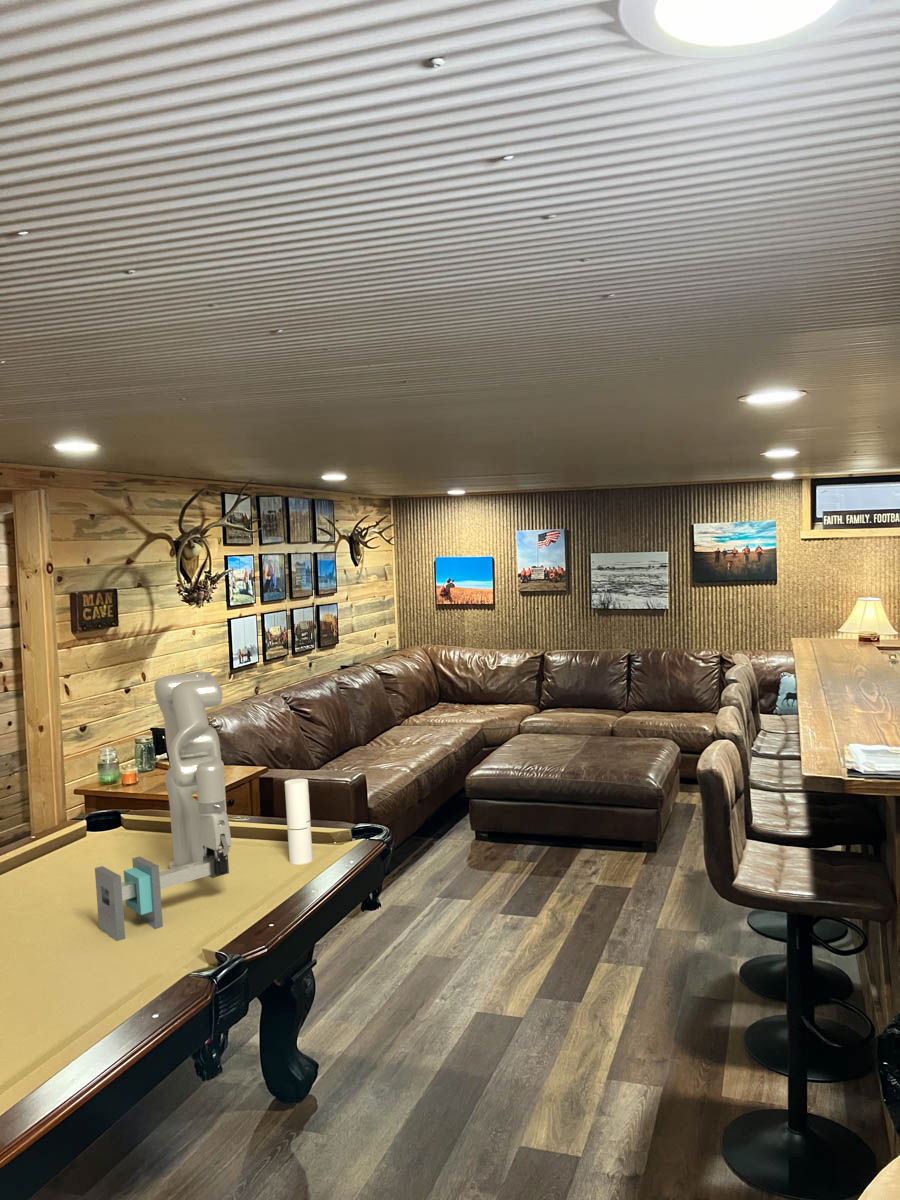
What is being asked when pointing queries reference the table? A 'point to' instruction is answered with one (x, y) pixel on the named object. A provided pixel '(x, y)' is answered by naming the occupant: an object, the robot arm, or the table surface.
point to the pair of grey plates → (113, 903)
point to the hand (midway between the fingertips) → (216, 871)
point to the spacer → (139, 891)
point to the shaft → (179, 875)
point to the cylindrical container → (298, 821)
